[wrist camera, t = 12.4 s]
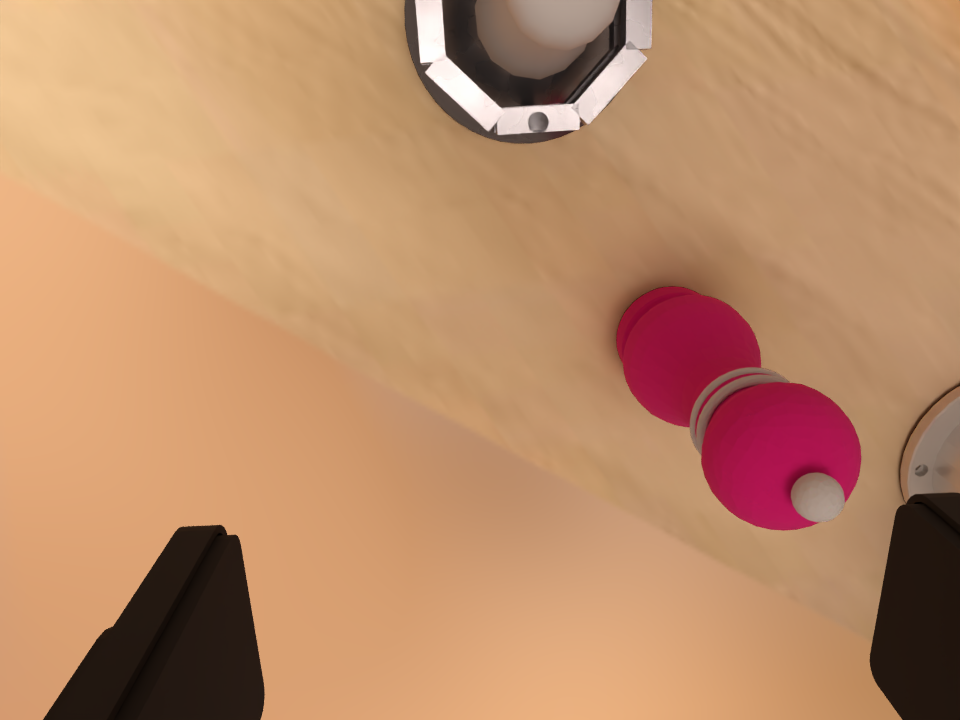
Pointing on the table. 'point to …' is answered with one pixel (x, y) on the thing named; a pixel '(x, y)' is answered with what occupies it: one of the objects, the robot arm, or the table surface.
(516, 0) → the salt shaker
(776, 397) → the pepper mill
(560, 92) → the collar stand
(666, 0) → the table surface
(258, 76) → the table surface
